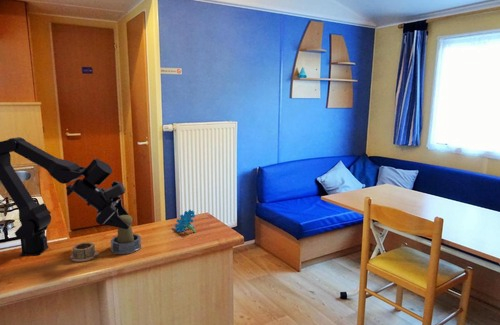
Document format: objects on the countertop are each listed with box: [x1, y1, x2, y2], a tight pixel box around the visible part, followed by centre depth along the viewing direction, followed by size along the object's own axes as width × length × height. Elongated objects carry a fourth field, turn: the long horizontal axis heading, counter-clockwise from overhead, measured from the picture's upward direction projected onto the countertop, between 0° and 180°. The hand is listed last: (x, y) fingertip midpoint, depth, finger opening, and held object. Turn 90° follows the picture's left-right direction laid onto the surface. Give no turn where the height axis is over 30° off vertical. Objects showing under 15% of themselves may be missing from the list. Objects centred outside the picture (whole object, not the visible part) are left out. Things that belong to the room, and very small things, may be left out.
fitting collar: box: [110, 233, 142, 256], centre depth 119 cm, size 10×10×4 cm
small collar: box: [70, 241, 99, 263], centre depth 112 cm, size 8×8×4 cm
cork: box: [116, 214, 134, 243], centre depth 118 cm, size 6×6×11 cm
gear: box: [174, 209, 197, 233], centre depth 136 cm, size 11×6×10 cm
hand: (129, 223), depth 118 cm, fingers open, 9 cm apart
